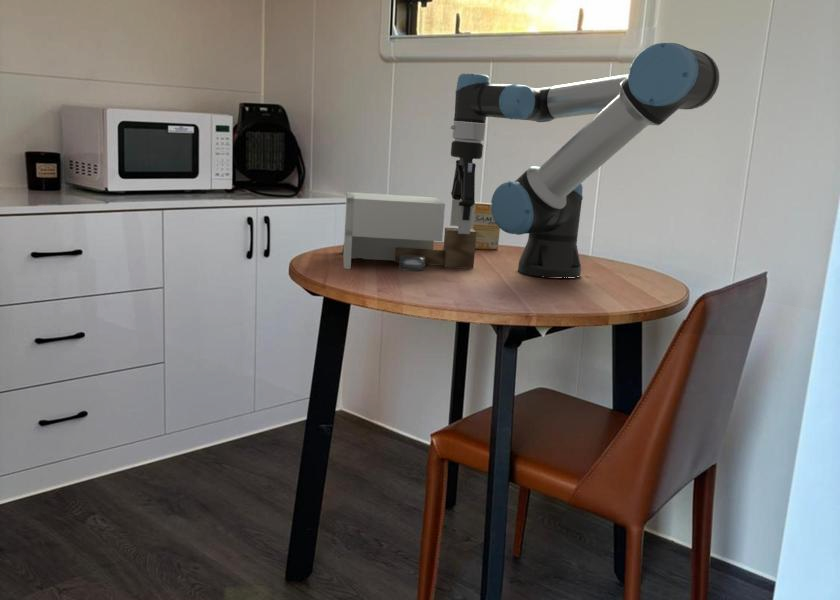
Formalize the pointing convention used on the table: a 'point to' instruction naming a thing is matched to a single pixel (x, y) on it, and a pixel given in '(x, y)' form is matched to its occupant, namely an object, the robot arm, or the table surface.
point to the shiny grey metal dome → (412, 262)
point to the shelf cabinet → (390, 225)
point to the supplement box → (484, 226)
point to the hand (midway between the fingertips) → (459, 229)
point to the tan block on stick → (448, 250)
